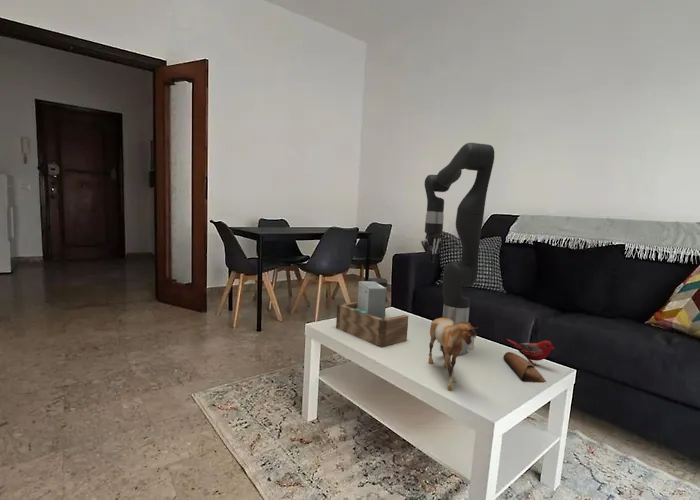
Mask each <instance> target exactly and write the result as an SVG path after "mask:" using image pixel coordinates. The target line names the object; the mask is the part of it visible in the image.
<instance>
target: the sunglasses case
mask: <svg viewBox="0 0 700 500" xmlns="http://www.w3.org/2000/svg"><path fill="white" fill-rule="evenodd" d="M503 360H504V361H505V362H506V364H508V365H509V366H510V367H511V368H512V370H514V372H515V373H516V374H517V376H518V377H519V378H520V379H521V380H522V381H523V382H524V383H542V384H543V383H544V382H547V380H546V379H545V378H544V377H543V375H542V373H540V372H539V371H538V369H537V368H536V367H535V365H533V364H532V363H530V362H529V360H528V359H527V358H524V357H523V356H521V355H518V354H517V353H514V352H510V351H507V352H506V353H504V354H503Z"/></svg>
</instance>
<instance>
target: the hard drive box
mask: <svg viewBox="0 0 700 500" xmlns="http://www.w3.org/2000/svg"><path fill="white" fill-rule="evenodd" d="M357 286H358V289H357V290H358V291H357V301H358V302H357V301H356V302H357V308H358V309H360V310H363V311H366V312H368V314H370V315H373V316H376V317H379V318H381V319H386V301H387V289H388V288H387V289H386V288H385V287H383V286H382V285H380V284H378V283H377V282H374V281H367V280H364V281H363V280H359V281H358V285H357Z"/></svg>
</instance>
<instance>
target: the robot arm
mask: <svg viewBox="0 0 700 500" xmlns="http://www.w3.org/2000/svg"><path fill="white" fill-rule="evenodd" d="M494 162H495V148H494V147H493V146H492V145H491V144H486V143H477V142H466V143H465V144H463V145H462V146H461V147H460V149H459V150H458V151H457V153H456V154H455V155H454V156H453V158H452V159H451V160H450V162H448V164H447V165H446V166H444V167H443V168H442V169H441V170H439V172H438V173H437V174H428V175H427V176H426V178H425V179H424V189H425V195H426V201H427V202H426V204H427V205H426V214H425V222H424V233H425V237H424V239H423V240H421V241H420V243H421V246H422V248H423V251H424V253H427V255H428V256H427V262H428V263H432V264H433V263H435V260H436V259H435V258H436V254H437V253H439V252H440V251H441V248H442V247H443V245H444V243H445V241H444V240H442V239H441V235H442V234H443V231H444V220H445V219H444V209H445V199H444V198H443V197H439V196H437V195H436V193H446V192H448V191H449V190H450V187H451V186H452V185H453V184H454V183H455V182H457V181H458V180H459V179H460V178H461V175H462V170H467V171H476V174H475V175H476V177H475V180H474V181H473V182H474V183H473V185H472V187H471V188H470V189H469V191H468V192H467V193H466V195H465V196H464V197H463V198H462V199H461V201H460V202H459V204H458V207H457V210H456V218H455V230H456V233H457V236H458V238H459V241H460V244H461V257H460V258H461V259H460V261H451V262H449V263H447V264H446V265H445V267H444V268H443V274H442V297H443V310H442V318H448V319H451V320H452V321H453V322H454V324H456V323H458V322H468V323H469V315H470V305H471V302H470V298H469V297H466V296H465V295H463V292H462V291H463V290H462V289H463V288H469V287H471V286H473V285H474V284H475V283H476V281H477V279H478V274H479V273H478V270H479V252H480V250H479V249H480V241H481V234H482V227H483V224H484V223H483V222H484V214H485V206H486V202H487V201H486V199H487V193H488V190H489V189H488V188H489V183H490V179H491V175H492V171H493V167H494V164H495V163H494ZM463 344H464V347H463V349H462V350H461V351H460V353H459V355H458V356H460V355H463V354H466V353H468V351H469V349H468V345H467V344H466V342H465V340H464V339H463ZM439 345H440V346H439V349H440V351H442V349H441V344H440V343H439Z"/></svg>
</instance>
